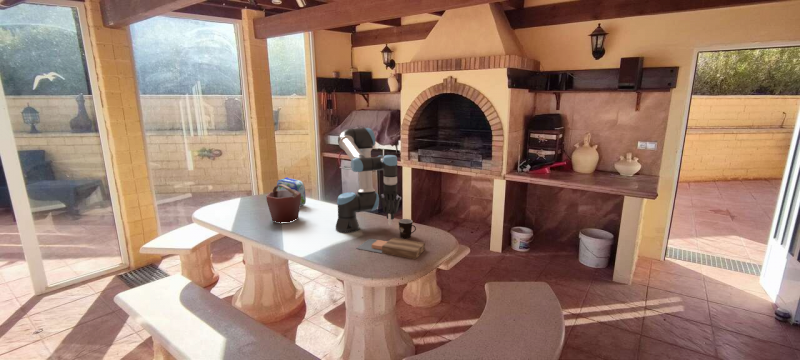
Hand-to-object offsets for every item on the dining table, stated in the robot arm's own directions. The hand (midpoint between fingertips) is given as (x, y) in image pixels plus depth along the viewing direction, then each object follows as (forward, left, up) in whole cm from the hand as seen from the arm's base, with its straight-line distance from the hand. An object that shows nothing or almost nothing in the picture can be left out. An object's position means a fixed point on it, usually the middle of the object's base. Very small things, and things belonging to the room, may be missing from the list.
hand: (390, 224), depth 215 cm
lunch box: (-47, -110, -15) cm, 120 cm away
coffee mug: (-20, +1, -15) cm, 25 cm away
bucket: (-15, -89, -15) cm, 92 cm away
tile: (0, -6, -14) cm, 15 cm away
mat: (0, -10, -15) cm, 17 cm away
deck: (0, +8, -15) cm, 17 cm away
